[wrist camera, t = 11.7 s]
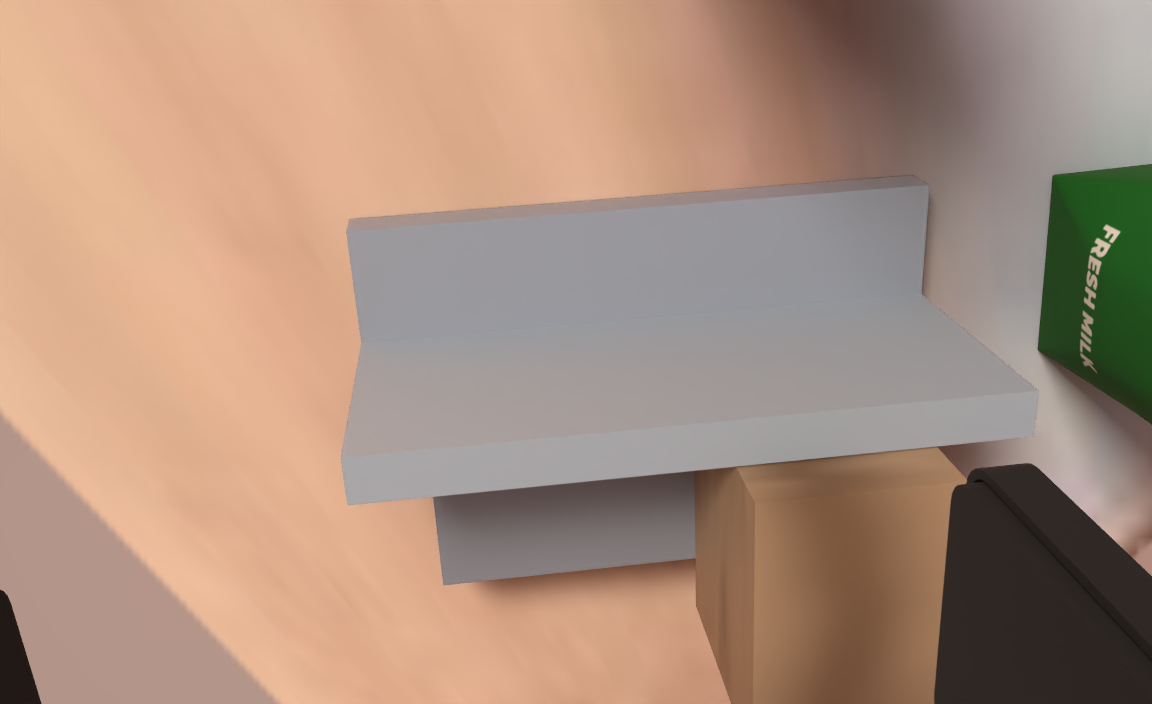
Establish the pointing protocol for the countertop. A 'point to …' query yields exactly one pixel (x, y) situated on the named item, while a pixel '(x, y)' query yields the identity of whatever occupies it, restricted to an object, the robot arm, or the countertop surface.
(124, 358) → the countertop surface
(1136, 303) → the milk carton
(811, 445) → the wall board
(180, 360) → the countertop surface
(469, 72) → the countertop surface
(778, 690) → the tan wooden block
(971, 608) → the robot arm
